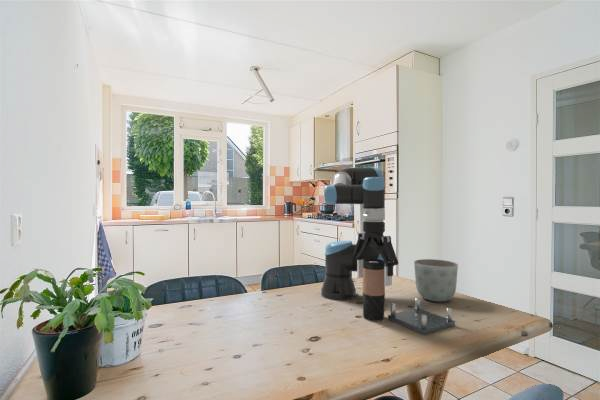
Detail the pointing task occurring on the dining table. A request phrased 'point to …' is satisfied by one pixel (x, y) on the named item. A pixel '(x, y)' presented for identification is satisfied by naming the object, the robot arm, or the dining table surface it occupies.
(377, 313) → the travel mug
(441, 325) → the stand
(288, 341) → the dining table surface
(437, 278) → the planter
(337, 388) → the dining table surface
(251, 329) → the dining table surface
